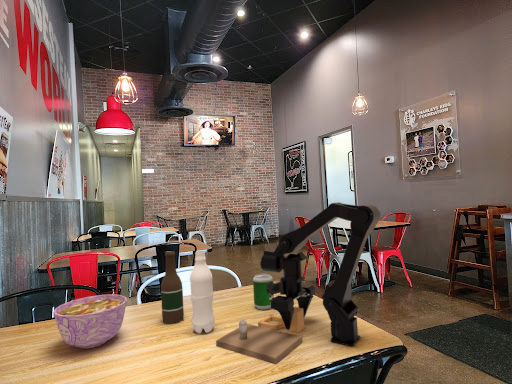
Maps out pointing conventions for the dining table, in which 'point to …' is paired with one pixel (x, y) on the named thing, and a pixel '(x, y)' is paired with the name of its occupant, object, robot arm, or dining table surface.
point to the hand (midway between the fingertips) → (295, 323)
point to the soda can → (262, 291)
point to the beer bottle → (171, 293)
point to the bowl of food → (90, 319)
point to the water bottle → (202, 295)
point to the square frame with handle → (295, 326)
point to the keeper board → (259, 342)
